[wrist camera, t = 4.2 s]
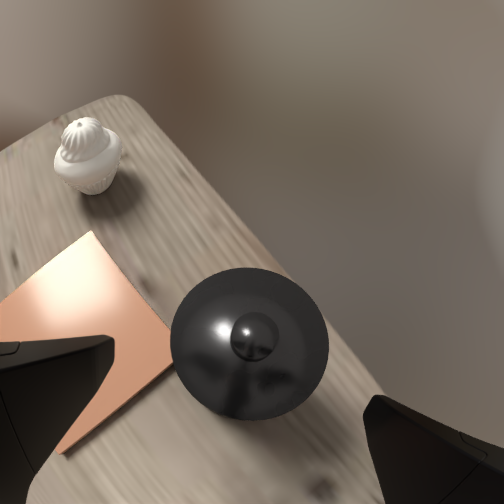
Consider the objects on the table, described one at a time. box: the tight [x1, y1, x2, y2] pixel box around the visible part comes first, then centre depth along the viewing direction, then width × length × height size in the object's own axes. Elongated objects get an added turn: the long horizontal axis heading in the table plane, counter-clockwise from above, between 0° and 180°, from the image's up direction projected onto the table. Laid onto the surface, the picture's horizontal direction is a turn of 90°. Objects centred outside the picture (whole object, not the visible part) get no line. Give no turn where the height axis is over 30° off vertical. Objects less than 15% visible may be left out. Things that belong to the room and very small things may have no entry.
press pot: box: [170, 268, 329, 421], centre depth 14 cm, size 6×6×10 cm
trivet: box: [0, 231, 173, 455], centre depth 18 cm, size 12×12×1 cm
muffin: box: [54, 117, 122, 195], centre depth 22 cm, size 6×6×7 cm
